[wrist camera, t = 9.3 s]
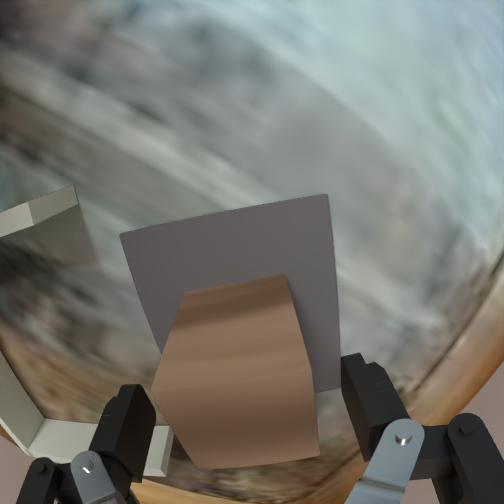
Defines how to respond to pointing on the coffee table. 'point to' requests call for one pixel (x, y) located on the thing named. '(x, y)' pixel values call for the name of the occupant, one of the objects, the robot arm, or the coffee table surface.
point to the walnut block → (238, 377)
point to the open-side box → (17, 400)
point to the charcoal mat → (246, 268)
